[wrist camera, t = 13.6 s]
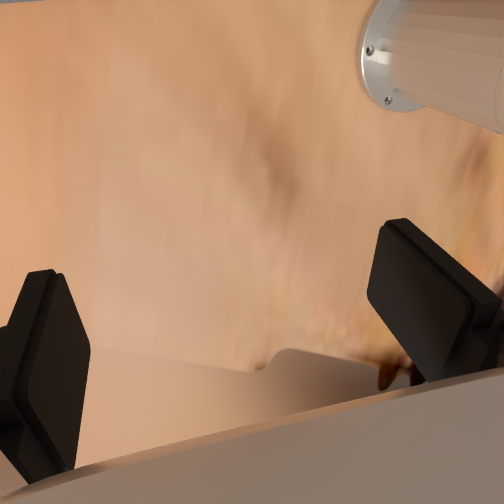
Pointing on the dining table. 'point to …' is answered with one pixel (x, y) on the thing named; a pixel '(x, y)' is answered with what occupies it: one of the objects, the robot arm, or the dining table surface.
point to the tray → (12, 0)
